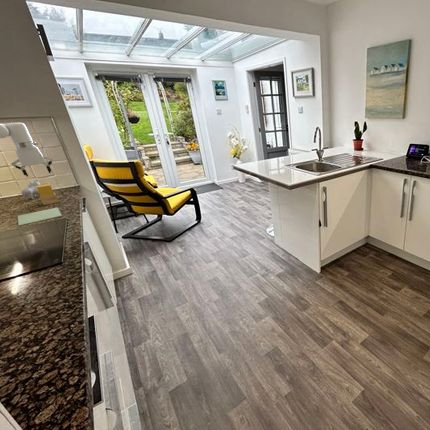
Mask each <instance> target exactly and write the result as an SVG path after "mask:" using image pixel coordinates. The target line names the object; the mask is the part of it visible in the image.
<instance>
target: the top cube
mask: <svg viewBox="0 0 430 430" xmlns="http://www.w3.org/2000/svg"><path fill="white" fill-rule="evenodd" d="M36 187H37V190H38V192H39V194H40V196H41V197H44V196H49V195H55V194H56V193H55V192H54V189H53V187H52V186H51V184H50V183H49V184H44V185H42V184H40V185H38V186H36ZM54 193H55V194H54ZM40 196H39V197H40Z"/></svg>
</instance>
